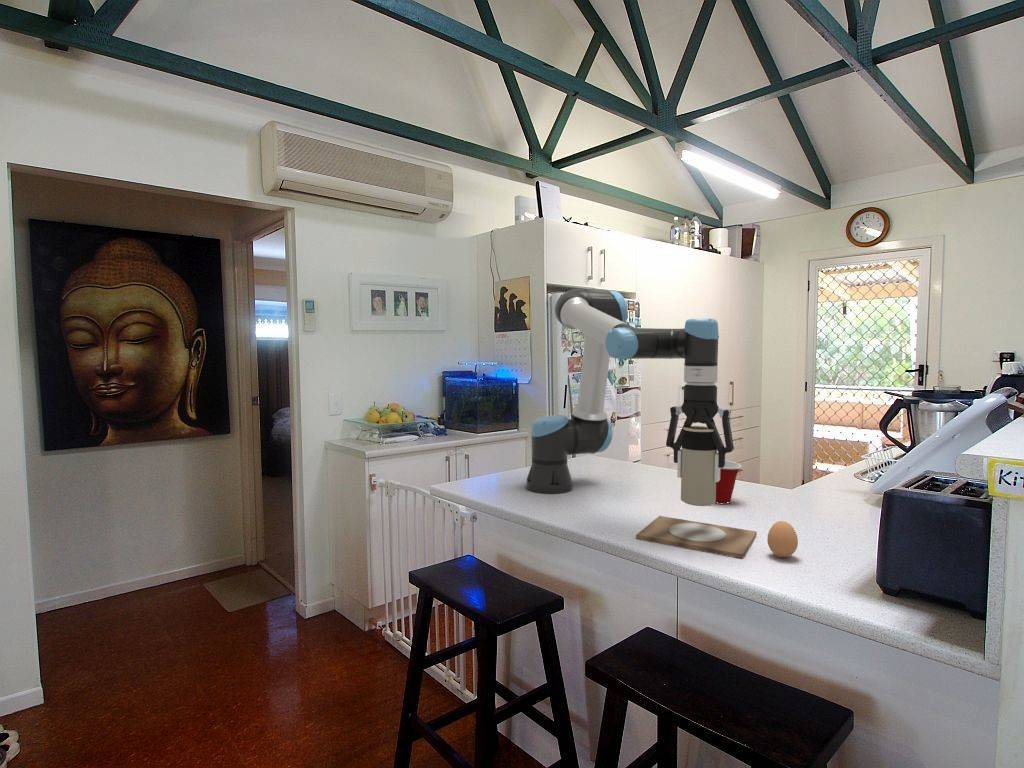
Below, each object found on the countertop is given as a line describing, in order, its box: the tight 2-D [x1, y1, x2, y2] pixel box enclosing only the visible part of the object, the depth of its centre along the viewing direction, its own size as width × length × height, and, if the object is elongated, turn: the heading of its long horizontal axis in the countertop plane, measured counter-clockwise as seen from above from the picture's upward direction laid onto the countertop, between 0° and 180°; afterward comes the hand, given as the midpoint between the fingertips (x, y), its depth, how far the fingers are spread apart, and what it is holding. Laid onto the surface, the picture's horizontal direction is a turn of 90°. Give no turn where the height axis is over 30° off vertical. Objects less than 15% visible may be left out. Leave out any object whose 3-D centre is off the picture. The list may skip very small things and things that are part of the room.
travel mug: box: [680, 425, 718, 507], centre depth 134 cm, size 8×8×18 cm
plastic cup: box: [716, 459, 742, 503], centre depth 166 cm, size 11×11×12 cm
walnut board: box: [635, 515, 757, 559], centre depth 135 cm, size 24×18×1 cm
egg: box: [767, 520, 799, 559], centre depth 122 cm, size 6×6×8 cm
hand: (698, 478), depth 134 cm, fingers closed on travel mug, 8 cm apart
